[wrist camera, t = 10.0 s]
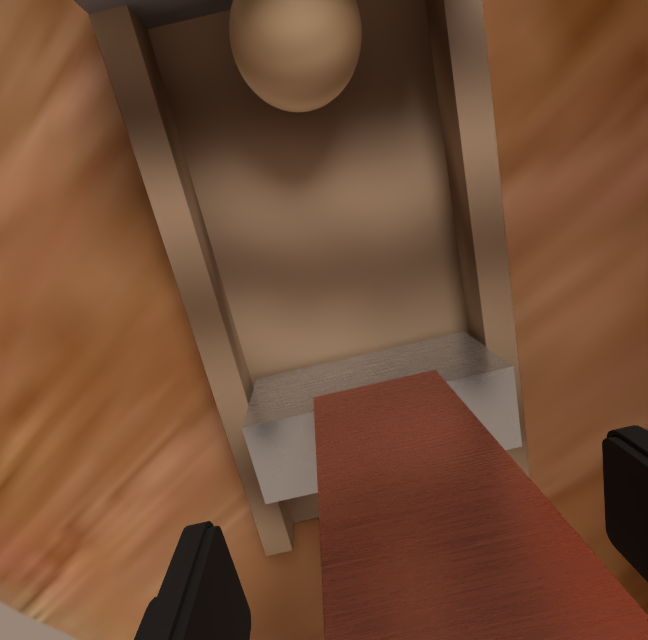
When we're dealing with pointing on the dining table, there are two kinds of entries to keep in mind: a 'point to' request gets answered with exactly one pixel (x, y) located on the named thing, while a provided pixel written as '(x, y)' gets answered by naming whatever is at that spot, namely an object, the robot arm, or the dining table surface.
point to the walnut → (296, 49)
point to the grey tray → (317, 200)
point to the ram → (429, 501)
